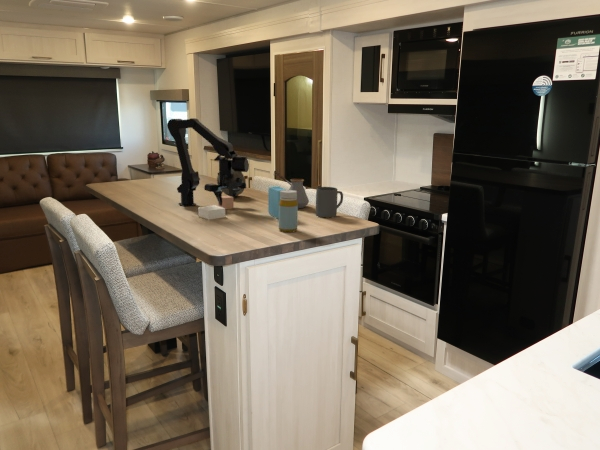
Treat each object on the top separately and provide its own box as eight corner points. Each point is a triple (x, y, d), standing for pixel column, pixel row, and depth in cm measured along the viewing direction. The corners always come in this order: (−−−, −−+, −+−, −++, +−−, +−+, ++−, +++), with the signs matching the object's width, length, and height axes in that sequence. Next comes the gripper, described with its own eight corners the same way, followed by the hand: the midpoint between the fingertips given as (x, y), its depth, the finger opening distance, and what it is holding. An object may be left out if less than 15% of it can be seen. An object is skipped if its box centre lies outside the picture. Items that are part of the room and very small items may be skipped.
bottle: (278, 228, 181) (278, 189, 178) (296, 228, 182) (297, 189, 178) (279, 232, 174) (279, 192, 171) (297, 232, 175) (298, 192, 172)
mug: (324, 219, 198) (325, 190, 195) (311, 215, 205) (312, 187, 202) (348, 215, 205) (350, 188, 203) (335, 211, 213) (336, 185, 210)
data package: (288, 218, 197) (288, 190, 194) (278, 219, 195) (278, 190, 192) (277, 212, 208) (278, 185, 205) (268, 213, 206) (268, 186, 203)
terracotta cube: (218, 207, 217) (218, 196, 215) (228, 206, 220) (228, 195, 218) (223, 209, 213) (223, 198, 212) (233, 207, 216) (233, 197, 215)
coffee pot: (313, 207, 221) (314, 175, 218) (296, 210, 213) (297, 177, 210) (283, 200, 236) (283, 170, 232) (265, 203, 228) (265, 172, 224)
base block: (198, 216, 198) (198, 207, 197) (214, 214, 203) (214, 205, 202) (209, 220, 192) (208, 210, 191) (225, 217, 198) (225, 208, 197)
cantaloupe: (242, 193, 252) (241, 165, 248) (247, 198, 239) (247, 168, 235) (215, 194, 248) (214, 166, 244) (219, 199, 235) (219, 169, 231)
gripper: (215, 174, 200) (216, 210, 204) (252, 171, 212) (252, 205, 215) (203, 171, 209) (204, 205, 213) (239, 168, 220) (240, 201, 224)
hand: (226, 204), depth 216 cm, fingers closed on terracotta cube, 5 cm apart
